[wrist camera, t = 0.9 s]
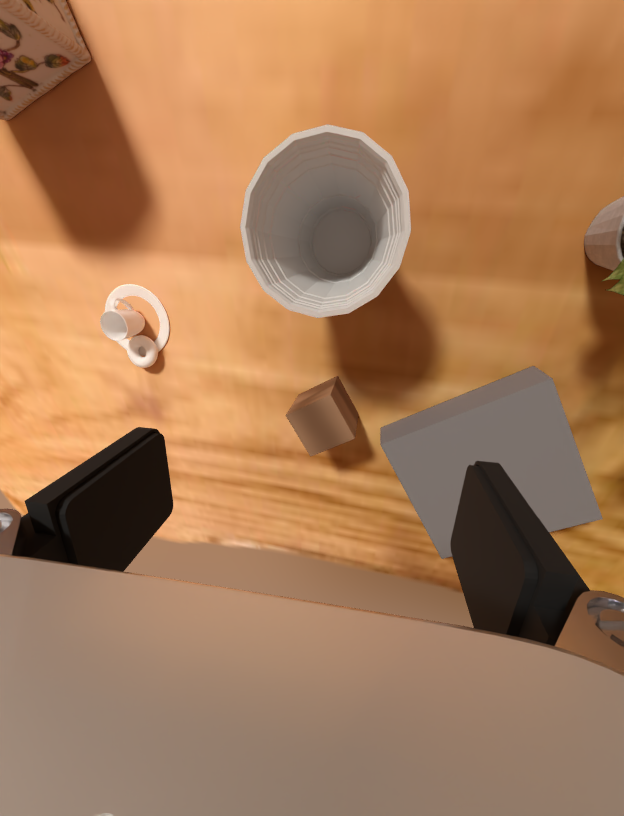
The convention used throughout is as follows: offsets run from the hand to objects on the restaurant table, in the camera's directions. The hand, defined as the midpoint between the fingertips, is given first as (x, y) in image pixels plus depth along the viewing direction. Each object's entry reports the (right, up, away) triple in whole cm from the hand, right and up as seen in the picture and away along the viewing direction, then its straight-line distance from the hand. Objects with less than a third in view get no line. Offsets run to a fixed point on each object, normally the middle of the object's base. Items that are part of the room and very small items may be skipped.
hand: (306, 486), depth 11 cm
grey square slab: (+19, -3, +27) cm, 33 cm away
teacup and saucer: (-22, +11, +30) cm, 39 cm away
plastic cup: (+3, +18, +22) cm, 28 cm away
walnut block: (+2, +3, +28) cm, 28 cm away
